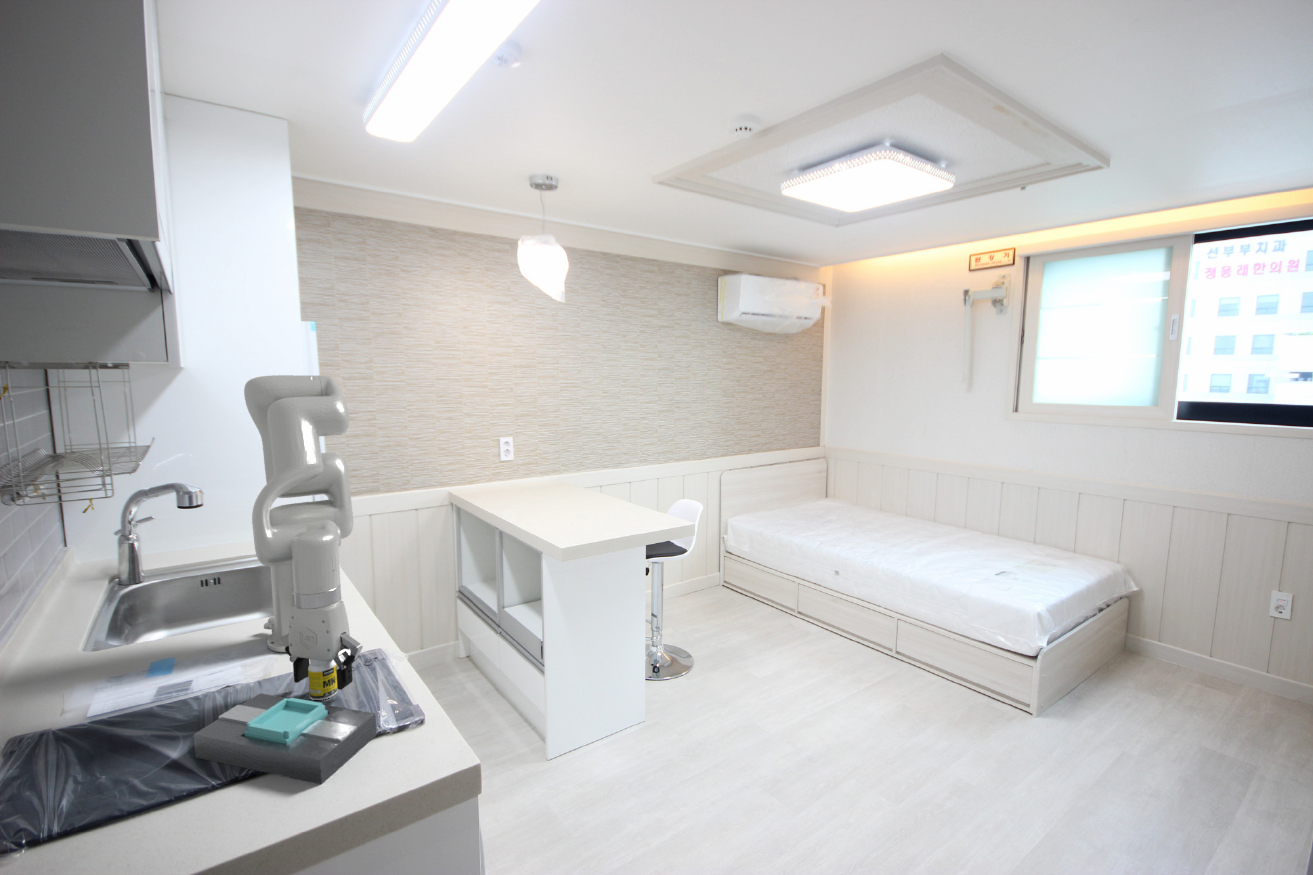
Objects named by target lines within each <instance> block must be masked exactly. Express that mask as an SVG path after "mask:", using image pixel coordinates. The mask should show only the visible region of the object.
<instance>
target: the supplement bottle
mask: <svg viewBox="0 0 1313 875" xmlns="http://www.w3.org/2000/svg"><path fill="white" fill-rule="evenodd" d="M309 662H310V665H309V667H308V690H309V693H308V694H309V695H308V696H309V699H310V698H312V699H314V700H322V701H325V699H326V700H329V699H331V698H333V697H335V695H337V693H338V691H339V689H338V688H337V673H336V671H337V669H338V666H337V664H336V663H335V661H334V660H331V661H320V660H313V659H309ZM332 696H333V697H332ZM328 698H329V699H328ZM323 699H324V700H323ZM314 700H313V701H314Z"/></svg>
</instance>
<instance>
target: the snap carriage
mask: <svg viewBox="0 0 1313 875" xmlns="http://www.w3.org/2000/svg"><path fill="white" fill-rule="evenodd" d="M284 698H285V699H283V700H282V701H280V702H279V703H277V704H276V705H274V706H273V707H271V708H269V709H268V710H266V711H265V712H263V713H262V714H260V715H259V716H257V717H256V718H254V719H253V720H251V721H250V722H248V723H247V731H245V732H244V734H245V737H247V738H252V739H257V740H262V741H267V742H272V743H277V744H282V745H288V744H290V743H291V742H292V741H294V740H295V739H296V738H298V737H299V736H300V735H302V734H301V732H302V731H304V730H305V729H306V728H308V727H309V726H310V725H312V724H313V723H314V722H316V721H317V720H318V719H319V720H322V719H323V718H324V717H326V716H327V715H328V711H327V710H325V705H326V704H324V705H323V703H322V702H320V701H314V700H305V699H301V698H295V697H289V699H287V698H288V697H284Z"/></svg>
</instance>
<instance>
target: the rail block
mask: <svg viewBox="0 0 1313 875" xmlns="http://www.w3.org/2000/svg"><path fill="white" fill-rule="evenodd" d="M285 698H287V699H290V697H289V698H288V697H282V696H277V695H273V694H265V693H259V694H257V695H255V696H254V697H252V698H250V699H249V700H247V701H245V702H243V703H242V704H237V705H235V706H234V707H231V708H230V709H229V710H227V711H225V712H223V713H222V714H221V715H219V716H218V718H217V719H216V720H215V721H212V722H211V723H210V724H208V725H207V726H205V727H203V728H202V729H200V730H198V731H196V732H195V733H193V745H194V754H195V758H196V759H201V760H206V761H211V762H215V763H219V764H225V765H230V766H233V767H239V768H244V769H247V770H248V769H249V770H253V771H258V772H263V773H268V774H272V775H276V776H280V777H286V778H291V779H294V780H295V779H296V780H300V781H304V782H305V781H306V782H309V783H315V784H320V785H322V784H324V783H325V782H326V781H327V780H328V779H329V778H330V777H331V776H333V775H334V774H335V773H336V772H337V771H339V769H341V768H342V767H343V766H344V765H345V764H346V763H347V762H349V761H350V760H351V759H352V758H353V757H355V755H357V753H359V752H360V751H361V750H362V749H363V748H364V747H366V745H367V744H369V743H370V742H371V741H372V740H373V739H374V738H375V737H377V719H376V713H373V712H369V711H363V710H357V709H351V708H346V707H340V706H334V705H328V704H323V705H325V710H327V711H328V715H327V716H326V717H324V718H323V719H322V720H319V719H318V720H317V721H316V722H314V723H313V724H312V725H310V726H309V727H308V728H306V729H305V730H304V731H302V732H301V734H302V735H300V736H299V737H298V738H296V739H295V740H294V741H292V742H291V743H290V744H288V745H282V744H277V743H272V742H267V741H262V740H257V739H252V738H247V737H245V734H244V732H245V731H247V723H248V722H250V721H251V720H253V719H254V718H256V717H257V716H259V715H260V714H262V713H263V712H265V711H266V710H268V709H269V708H271V707H273V706H274V705H276V704H277V703H279V702H280V701H282V700H283V699H285Z"/></svg>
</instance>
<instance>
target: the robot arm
mask: <svg viewBox="0 0 1313 875" xmlns="http://www.w3.org/2000/svg"><path fill="white" fill-rule="evenodd" d="M243 394H244V395H243V396H244V401H245V405H246V409H247V411H248V413H249V416H250V417H251V419H252V422H253V423H254V425H255V427H256V428H257V431H258V434H259V435H260V438H261V442H262V451H263V463H264V464H263V465H264V472H265V474H264V475H265V480H266V485H264V487H263V488H262V489H261V491H260V492H259V494H258V495H257V498H256V499H255V502H254V505H253V507H252V508H253V509H252V513H251V520H252V521H251V525H252V534H253V544H254V549H255V555H256V558H257V560H258V562H259V563H260V564H262V565H263V566H265V567H270V578H271V579H270V580H271V592H272V593H271V594H272V607H273V608H272V609H273V616H272V615H271V616H270V617H269V618H268V620H267V622H265V623H264V624H263V629H265V630H271V635H270V636H269V637H268V639H267V643H266V644H267V647H268V649H269V650H270V651H272V652H277V653H278V652H279V653H286V654H287V655H288V656H289V661H290V663H292V665H293V666H292V668H293V669H292V670H293V671H292V672H293V682H294V683H296V684H298V683H300V682H301V681H303V680H304V679H306V678H309V676H308V667H309V665H310V659H313V660H320V661H331V660H334V661H335V663H336V664H337V671H336V673H337V688H338V690H339V691H340V690H343V689H344V688H346V687H347V686H349V685H350V684H352V682H353V680H354V678H353V664H354V663H355V662H356V661H357V660H358V658H359V657H360V654H361V653H362V650H363V648H364V646H363V644H362V643H360V642H359V641H357V640H356V639H355V638H353V637H351V634H350V625H349V619H348V618H349V617H348V614H347V610H346V605H345V602H344V601H343V600H342V587H341V586H342V584H341V572H340V569H341V568H340V553H339V551H340V550H339V548H340V547H341V546H342V540H344V539H345V538H346V539H347V538H348V537H349V536H350V535H351V534H352V532H353V530H354V517H353V516H354V515H353V512H354V511H353V505H352V504H353V503H352V498H351V497H352V495H351V488H350V486H351V485H350V479H349V478H350V477H349V471H348V467H347V464H346V461H345V460H344V458H343V456H341V454H338V453H336V452H322V450H321V442H320V437H332V436H333V437H334V436H341V435H343V434H346V432H347V431H348V429H349V425H350V416H349V410H348V405H347V403H346V400H345V398H344V395H343V394H342V391H341V390H340V386H338V383H337V381H336V380H335V379H334V378H333V377H330V376H327V375H292V374H291V375H288V374H287V375H286V374H285V375H283V374H282V375H280V374H278V375H277V374H276V375H275V374H274V375H263V376H257V377H254V378H250V379H249V380H248V381H246V383H245V385H244V389H243ZM318 495H319V496H320V495H325V496H326V497H327V499H323V500H322V499H321V500H314V501H303V502H295V503H287V504H282V505H278V506H275V507H273V506H272V505H273V504H274V502H275V500H277V499H278V498H279V499H289V498H300V497H309V496H318ZM341 655H342V656H343V658H344V659H343V658H342V656H341Z"/></svg>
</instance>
